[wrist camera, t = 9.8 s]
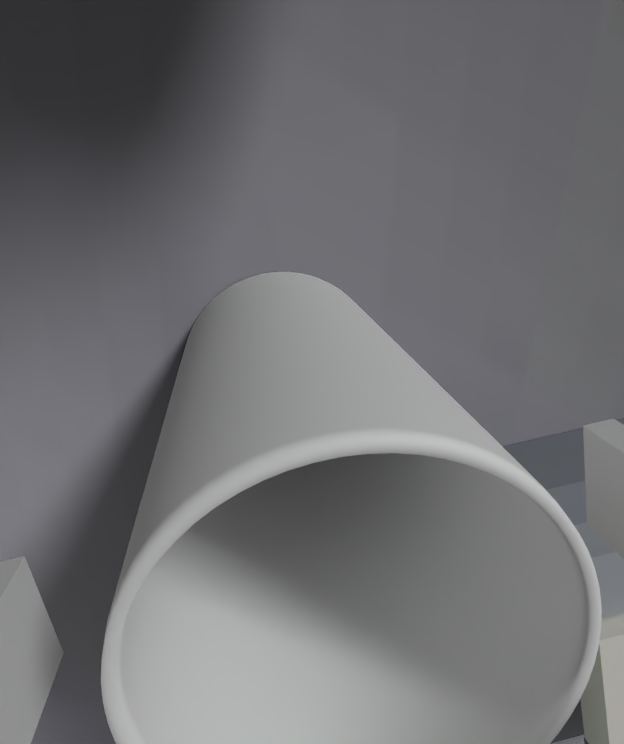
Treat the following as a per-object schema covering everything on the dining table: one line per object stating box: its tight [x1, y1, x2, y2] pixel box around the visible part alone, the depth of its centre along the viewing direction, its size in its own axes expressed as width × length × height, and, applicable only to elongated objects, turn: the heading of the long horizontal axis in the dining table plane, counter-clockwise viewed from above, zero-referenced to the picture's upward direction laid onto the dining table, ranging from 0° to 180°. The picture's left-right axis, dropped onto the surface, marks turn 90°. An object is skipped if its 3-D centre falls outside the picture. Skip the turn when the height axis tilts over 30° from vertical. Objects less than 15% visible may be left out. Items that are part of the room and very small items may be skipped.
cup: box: [101, 272, 602, 744], centre depth 17 cm, size 8×8×16 cm
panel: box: [503, 419, 624, 743], centre depth 26 cm, size 14×22×7 cm, turn 101°
